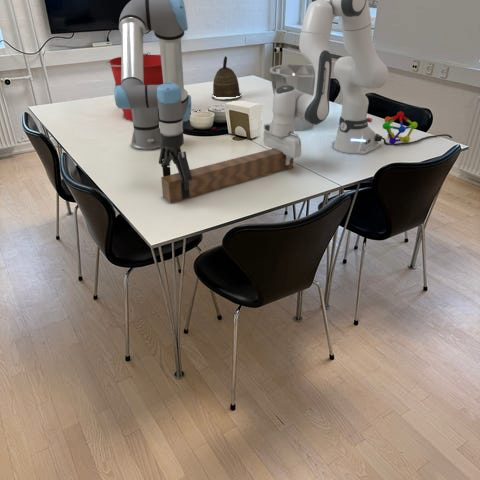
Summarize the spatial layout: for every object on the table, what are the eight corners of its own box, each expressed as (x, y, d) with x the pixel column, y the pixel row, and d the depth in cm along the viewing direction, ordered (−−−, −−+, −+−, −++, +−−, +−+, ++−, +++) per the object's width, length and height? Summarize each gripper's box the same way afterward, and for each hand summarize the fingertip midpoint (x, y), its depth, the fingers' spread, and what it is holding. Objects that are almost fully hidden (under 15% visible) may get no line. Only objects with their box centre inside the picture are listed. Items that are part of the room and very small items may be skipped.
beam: (170, 203, 157) (168, 182, 152) (163, 197, 160) (161, 177, 156) (292, 167, 185) (294, 149, 181) (284, 163, 189) (285, 145, 184)
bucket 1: (123, 106, 262) (116, 51, 247) (182, 106, 262) (178, 52, 246) (106, 123, 233) (97, 63, 217) (172, 124, 232) (168, 64, 216)
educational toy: (377, 146, 209) (379, 114, 202) (384, 138, 219) (386, 107, 211) (411, 149, 202) (415, 116, 195) (417, 141, 212) (420, 109, 204)
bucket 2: (296, 138, 215) (301, 78, 201) (255, 124, 234) (256, 68, 219) (335, 125, 232) (342, 70, 217) (294, 113, 251) (297, 61, 236)
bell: (227, 105, 294) (202, 96, 282) (238, 66, 289) (213, 55, 277) (243, 108, 280) (217, 98, 268) (255, 66, 275) (229, 55, 263)
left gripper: (200, 141, 141) (203, 200, 152) (164, 121, 159) (169, 176, 170) (179, 145, 138) (184, 206, 149) (145, 125, 155) (151, 181, 166)
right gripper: (306, 134, 170) (303, 168, 178) (273, 121, 184) (271, 152, 192) (294, 137, 167) (291, 171, 175) (261, 123, 181) (260, 155, 189)
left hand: (176, 190), depth 159 cm, fingers open, 13 cm apart
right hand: (281, 161), depth 183 cm, fingers closed on beam, 5 cm apart
